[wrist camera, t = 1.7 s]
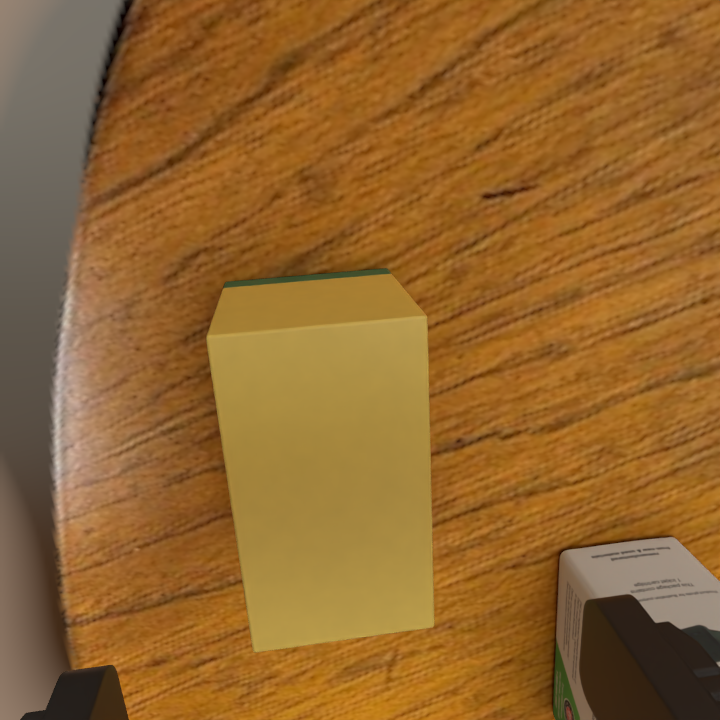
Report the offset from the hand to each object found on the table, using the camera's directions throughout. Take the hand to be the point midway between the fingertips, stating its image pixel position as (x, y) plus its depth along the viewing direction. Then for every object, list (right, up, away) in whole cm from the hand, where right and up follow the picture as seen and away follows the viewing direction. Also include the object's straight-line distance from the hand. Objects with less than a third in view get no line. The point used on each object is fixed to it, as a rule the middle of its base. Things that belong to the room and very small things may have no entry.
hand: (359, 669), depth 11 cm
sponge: (-1, +4, +10) cm, 11 cm away
